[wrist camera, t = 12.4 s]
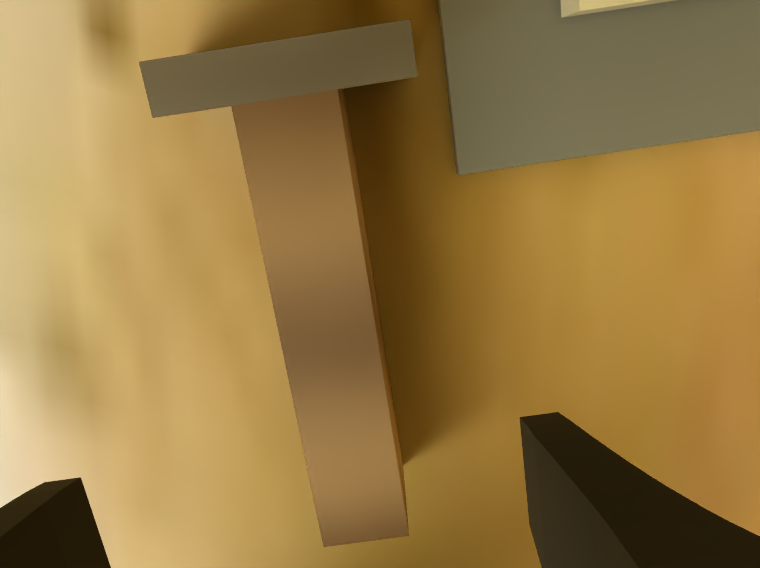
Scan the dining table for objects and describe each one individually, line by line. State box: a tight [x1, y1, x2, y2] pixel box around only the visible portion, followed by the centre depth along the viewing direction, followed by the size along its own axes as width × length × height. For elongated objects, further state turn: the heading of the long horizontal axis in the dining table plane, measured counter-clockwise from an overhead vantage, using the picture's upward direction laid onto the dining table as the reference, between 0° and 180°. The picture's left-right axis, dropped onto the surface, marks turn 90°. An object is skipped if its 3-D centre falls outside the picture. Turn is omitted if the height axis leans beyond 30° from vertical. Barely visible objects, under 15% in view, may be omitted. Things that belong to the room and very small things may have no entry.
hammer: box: [139, 19, 418, 547], centre depth 18 cm, size 13×6×4 cm, turn 8°
